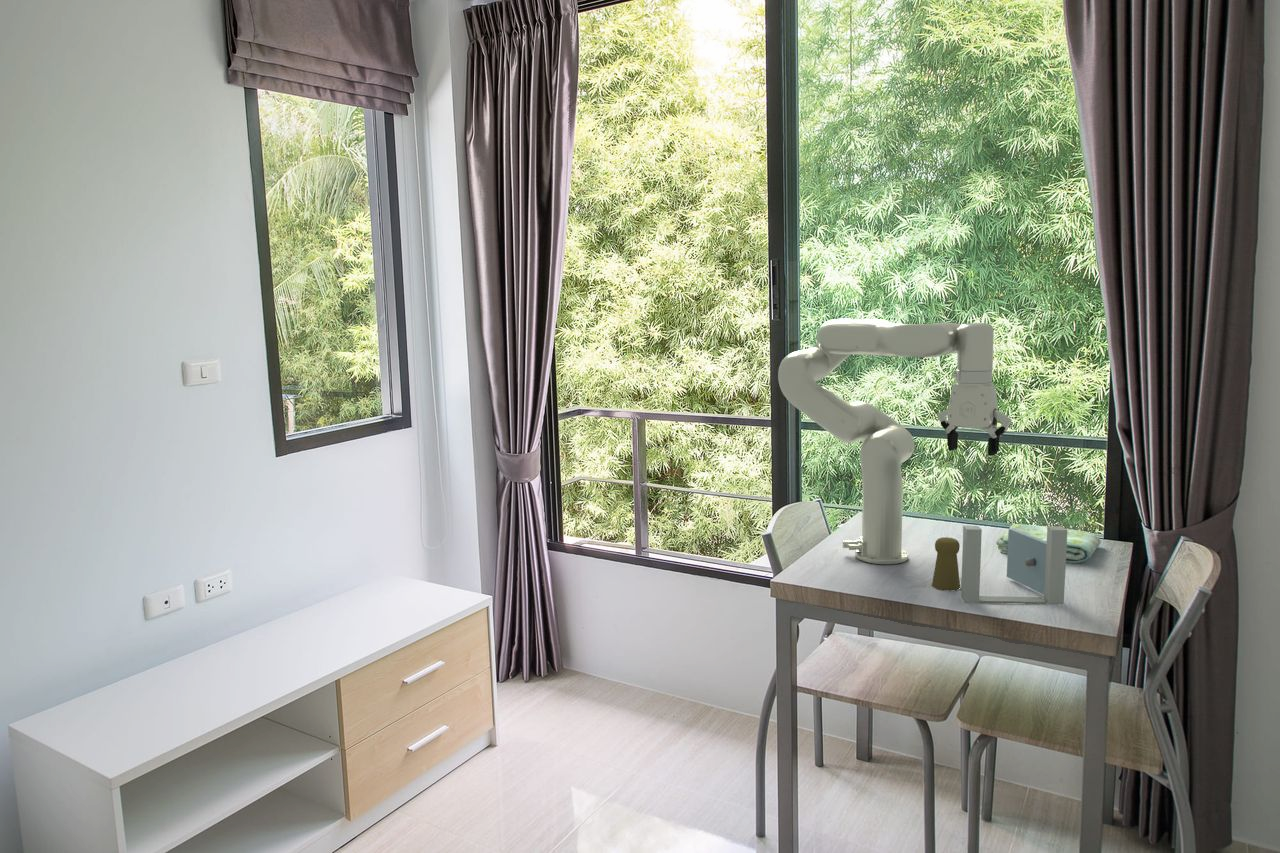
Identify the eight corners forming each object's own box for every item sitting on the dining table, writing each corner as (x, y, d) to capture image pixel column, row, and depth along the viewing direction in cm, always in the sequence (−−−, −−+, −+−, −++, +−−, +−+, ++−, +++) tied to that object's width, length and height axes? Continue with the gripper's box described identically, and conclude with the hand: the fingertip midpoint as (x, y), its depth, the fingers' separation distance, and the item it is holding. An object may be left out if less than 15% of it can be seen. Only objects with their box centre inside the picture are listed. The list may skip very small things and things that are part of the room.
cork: (962, 591, 195) (963, 542, 193) (933, 590, 196) (934, 542, 195) (958, 582, 201) (959, 535, 199) (930, 581, 202) (931, 534, 200)
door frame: (964, 602, 188) (966, 529, 186) (960, 597, 191) (963, 525, 189) (1063, 604, 186) (1067, 530, 183) (1058, 599, 189) (1062, 526, 186)
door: (1049, 594, 189) (1052, 543, 188) (1038, 596, 189) (1040, 545, 187) (1011, 576, 202) (1013, 528, 200) (1000, 577, 201) (1002, 529, 199)
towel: (1011, 536, 237) (1012, 518, 236) (1100, 548, 225) (1102, 528, 224) (994, 554, 222) (995, 534, 221) (1088, 568, 210) (1090, 547, 209)
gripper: (931, 377, 206) (929, 450, 208) (1003, 381, 193) (1001, 459, 196) (947, 374, 211) (945, 445, 213) (1019, 378, 198) (1016, 454, 201)
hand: (972, 452), depth 204 cm, fingers open, 9 cm apart
